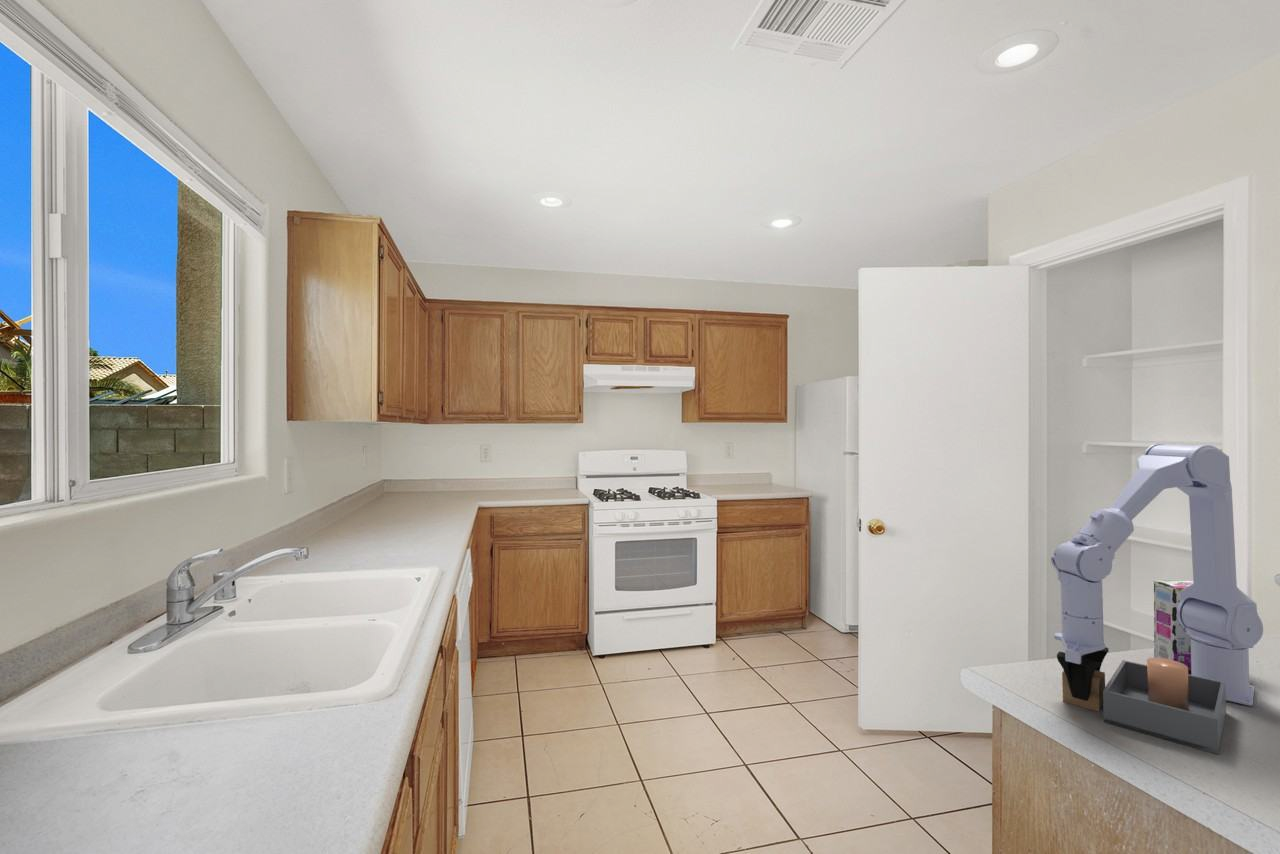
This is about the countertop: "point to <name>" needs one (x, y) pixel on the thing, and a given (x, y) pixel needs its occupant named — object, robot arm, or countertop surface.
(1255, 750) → the countertop surface
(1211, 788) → the countertop surface
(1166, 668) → the terracotta cylinder
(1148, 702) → the box
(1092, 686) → the walnut cube
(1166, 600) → the candy bar box
